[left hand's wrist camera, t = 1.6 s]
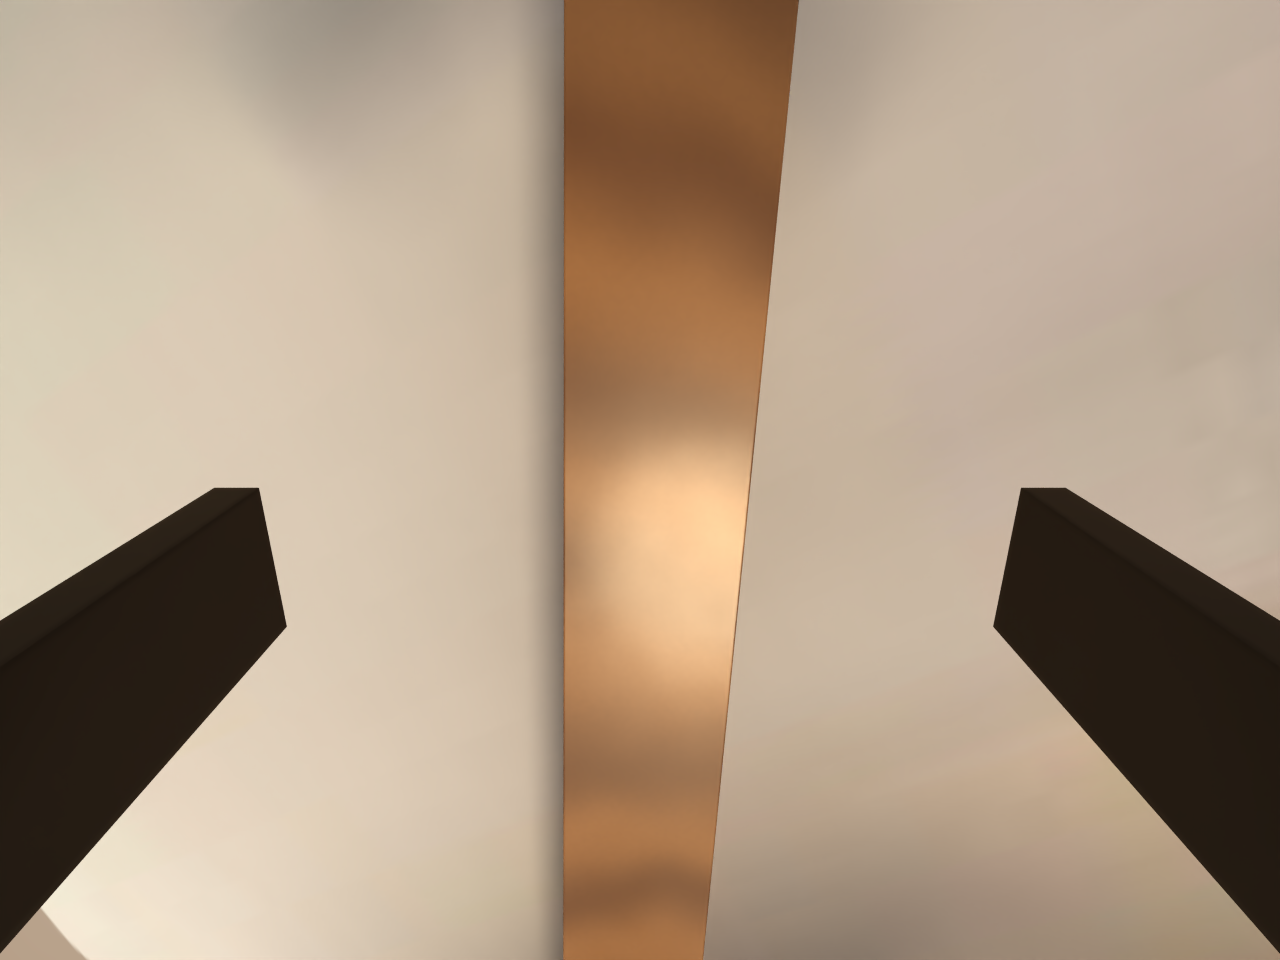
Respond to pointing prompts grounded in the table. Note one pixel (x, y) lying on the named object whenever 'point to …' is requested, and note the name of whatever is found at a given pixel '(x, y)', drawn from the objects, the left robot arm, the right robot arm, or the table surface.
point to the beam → (659, 439)
